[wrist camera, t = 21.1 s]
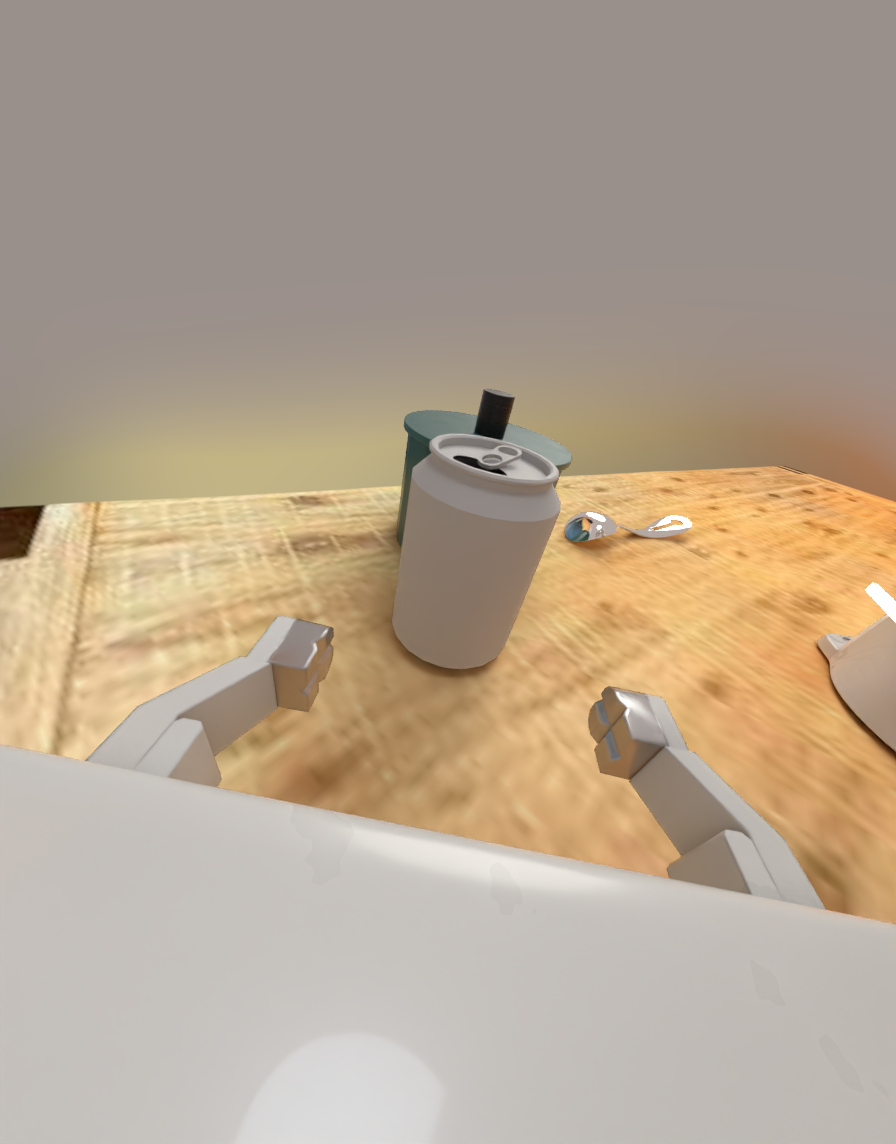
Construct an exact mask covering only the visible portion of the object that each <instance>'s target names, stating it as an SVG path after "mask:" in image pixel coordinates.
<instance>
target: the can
mask: <svg viewBox="0 0 896 1144" xmlns="http://www.w3.org/2000/svg"><path fill="white" fill-rule="evenodd" d="M429 449H430V451H431V454H430V455H429V456H427V457H426V458H425V459H423V460H422V461H421V462H420V463H418V464H417V465H416V466H414V467H413V470H412V477H411V485H410V492H409V499H408V506H407V514H406V521H405V528H404V535H403V543H402V550H401V557H400V564H399V572H398V579H397V586H396V593H395V601H394V608H393V615H392V625H393V628H394V631H395V634H396V637H397V638H398V639H399V640H400V642H401V643H402V644H403V645H404V647H405V648H406V649H407V650H409V651H410V652H411V653H413V654H414V655H416V656H417V657H419V658H420V659H422V660H423V661H426V662H429V663H432V664H435V665H437V666H440V667H444V668H454V669H468V668H473V667H479V666H483V665H484V664H486V663H488V662H490V661H492V660H493V659H495V658H496V657H497V656H498V655H499V653H500V652H501V651H502V649H503V648H504V646H505V644H506V641H507V639H508V637H509V634H510V632H511V629H512V627H513V624H514V622H515V620H516V617H517V615H518V612H519V610H520V607H521V605H522V603H523V600H524V598H525V595H526V593H527V590H528V588H529V586H530V583H531V581H532V578H533V576H534V573H535V571H536V569H537V566H538V564H539V561H540V559H541V556H542V554H543V552H544V549H545V547H546V544H547V542H548V539H549V537H550V535H551V532H552V530H553V527H554V525H555V522H556V520H557V518H558V515H559V513H560V500H559V497H558V495H557V493H556V490H555V488H554V486H553V482H554V481H556V480H558V478H559V471H558V469H557V468H556V466H555V465H554V464H553V463H552V462H551V461H549V460H548V459H546V458H545V457H543V456H542V455H539V454H537V453H535V452H533V451H531V450H529V449H526V448H523V447H521V446H518V445H515V444H512V443H508V442H505V441H501V440H497V439H493V438H488V437H483V436H477V435H468V434H445V435H440V436H437V437H435V438H434V439H432V440H431V441H430V445H429Z"/></svg>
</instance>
